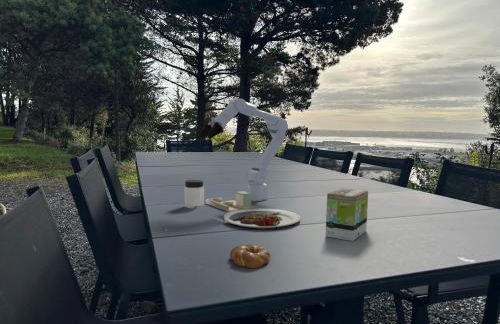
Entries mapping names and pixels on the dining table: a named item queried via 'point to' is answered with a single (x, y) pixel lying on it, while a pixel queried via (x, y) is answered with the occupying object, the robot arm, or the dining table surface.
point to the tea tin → (243, 199)
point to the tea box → (346, 214)
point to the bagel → (249, 256)
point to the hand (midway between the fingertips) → (204, 137)
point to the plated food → (263, 218)
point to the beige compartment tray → (225, 204)
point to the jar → (193, 193)
